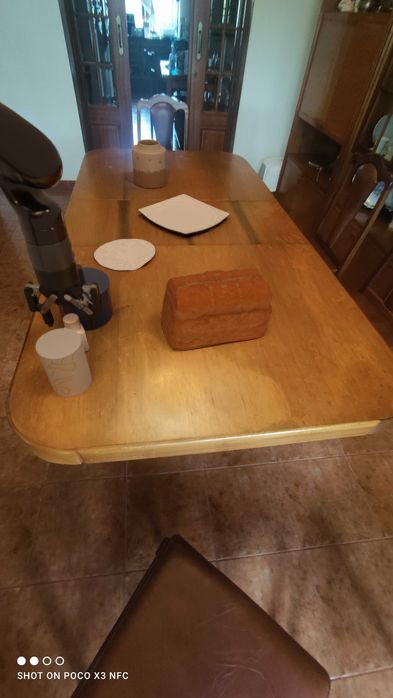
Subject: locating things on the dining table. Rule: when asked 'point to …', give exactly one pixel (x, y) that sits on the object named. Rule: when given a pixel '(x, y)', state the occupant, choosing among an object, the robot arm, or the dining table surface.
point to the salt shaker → (76, 328)
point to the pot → (101, 317)
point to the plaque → (124, 254)
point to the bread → (215, 308)
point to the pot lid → (93, 279)
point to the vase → (149, 164)
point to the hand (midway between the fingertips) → (72, 324)
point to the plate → (184, 215)
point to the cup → (64, 361)
